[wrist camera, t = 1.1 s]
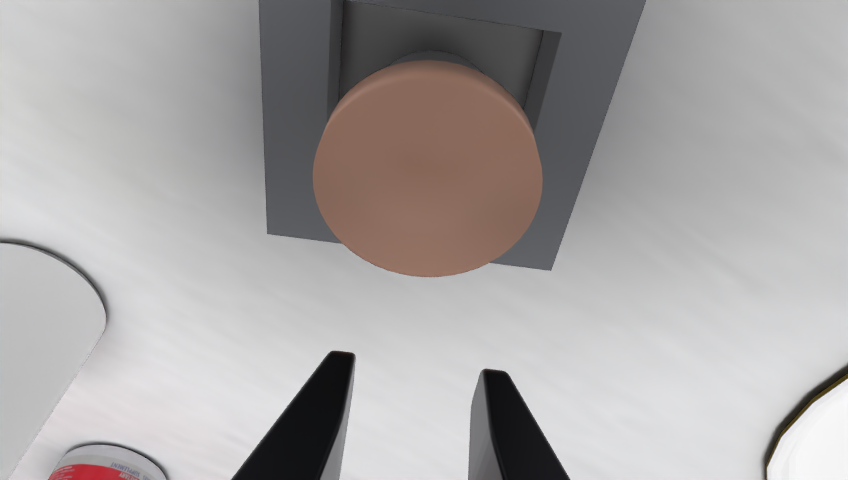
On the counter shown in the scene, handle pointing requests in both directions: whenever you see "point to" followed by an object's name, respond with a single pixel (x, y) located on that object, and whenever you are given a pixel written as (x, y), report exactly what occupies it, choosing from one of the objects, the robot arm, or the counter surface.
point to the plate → (815, 440)
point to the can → (40, 341)
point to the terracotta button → (428, 167)
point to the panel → (545, 109)
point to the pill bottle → (105, 465)
